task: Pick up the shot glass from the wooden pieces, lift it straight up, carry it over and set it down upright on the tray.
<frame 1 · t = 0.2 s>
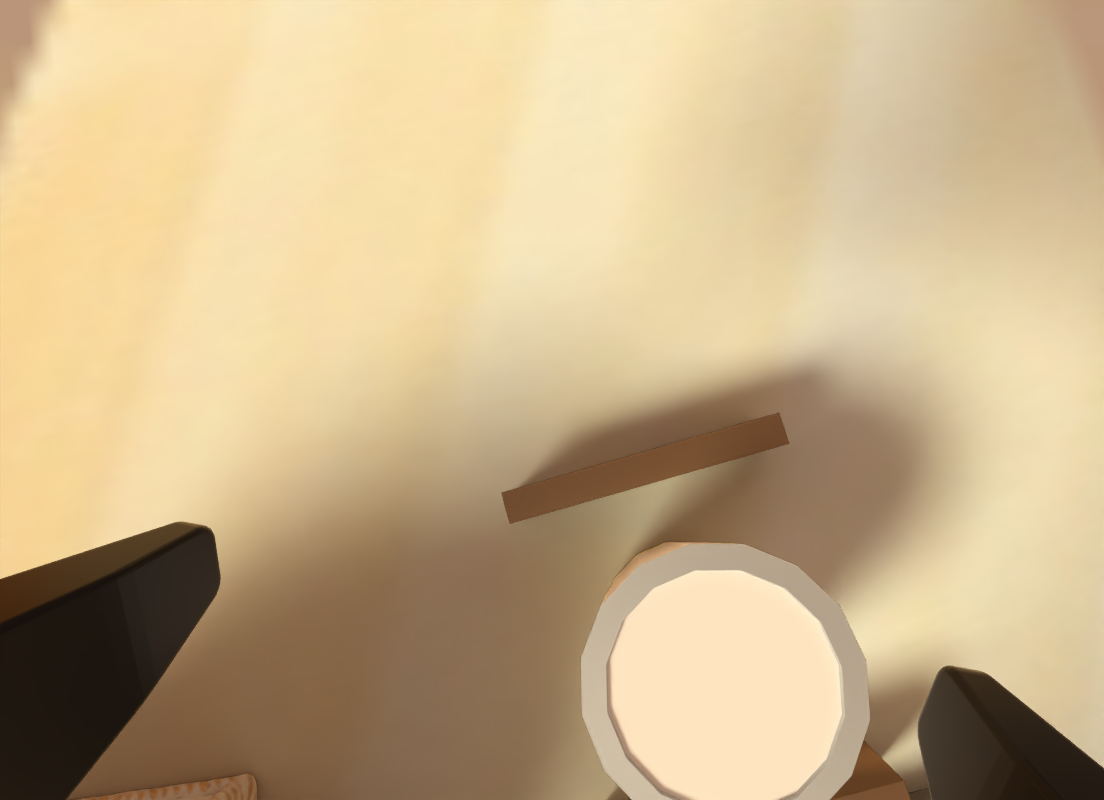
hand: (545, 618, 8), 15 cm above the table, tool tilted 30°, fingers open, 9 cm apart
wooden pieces: (684, 623, 22), on the table
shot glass: (683, 621, 22), on the table
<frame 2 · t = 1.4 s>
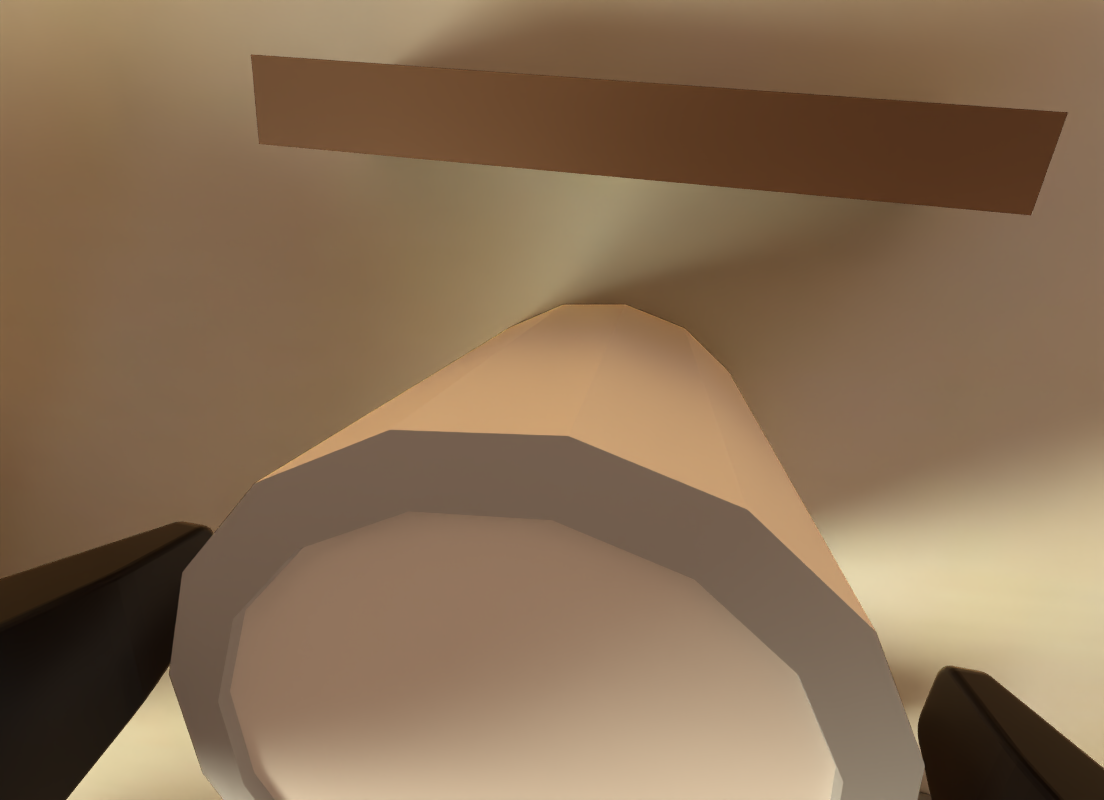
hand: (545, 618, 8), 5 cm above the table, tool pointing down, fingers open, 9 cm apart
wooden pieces: (596, 447, 12), on the table
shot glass: (598, 442, 12), on the table
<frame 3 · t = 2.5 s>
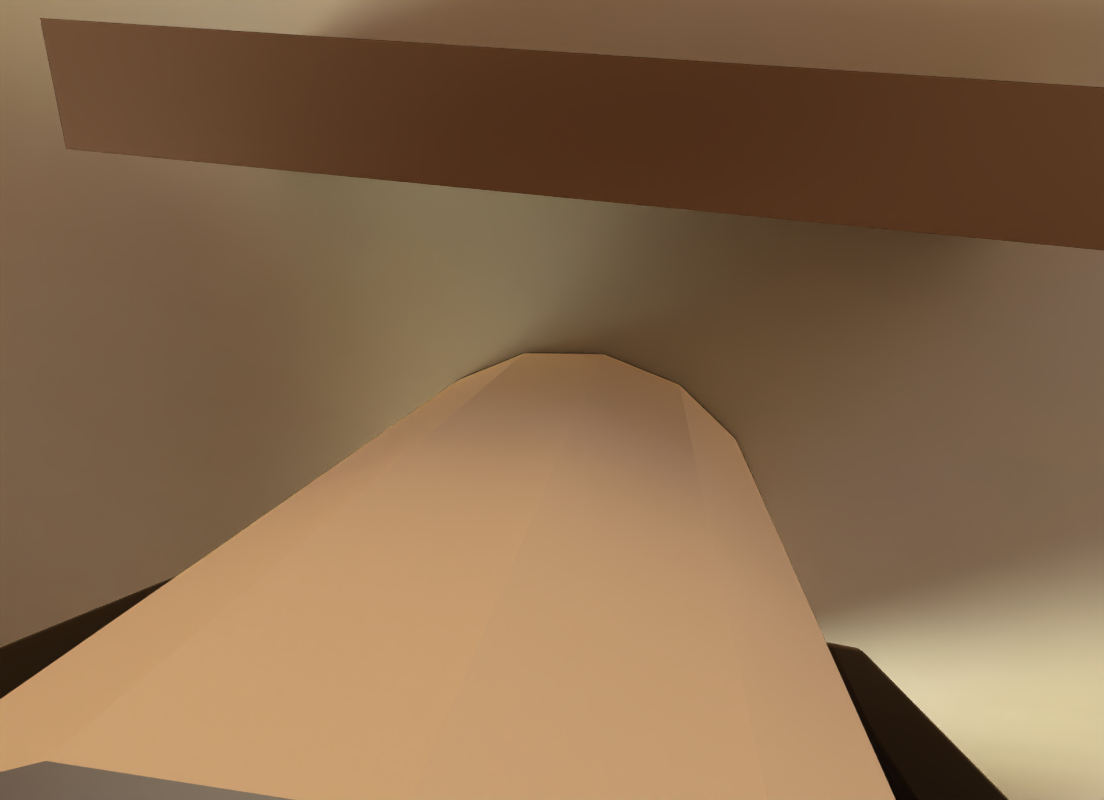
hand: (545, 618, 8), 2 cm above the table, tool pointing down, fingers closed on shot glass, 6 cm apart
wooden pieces: (570, 527, 10), on the table
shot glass: (572, 520, 10), on the table, touching gripper
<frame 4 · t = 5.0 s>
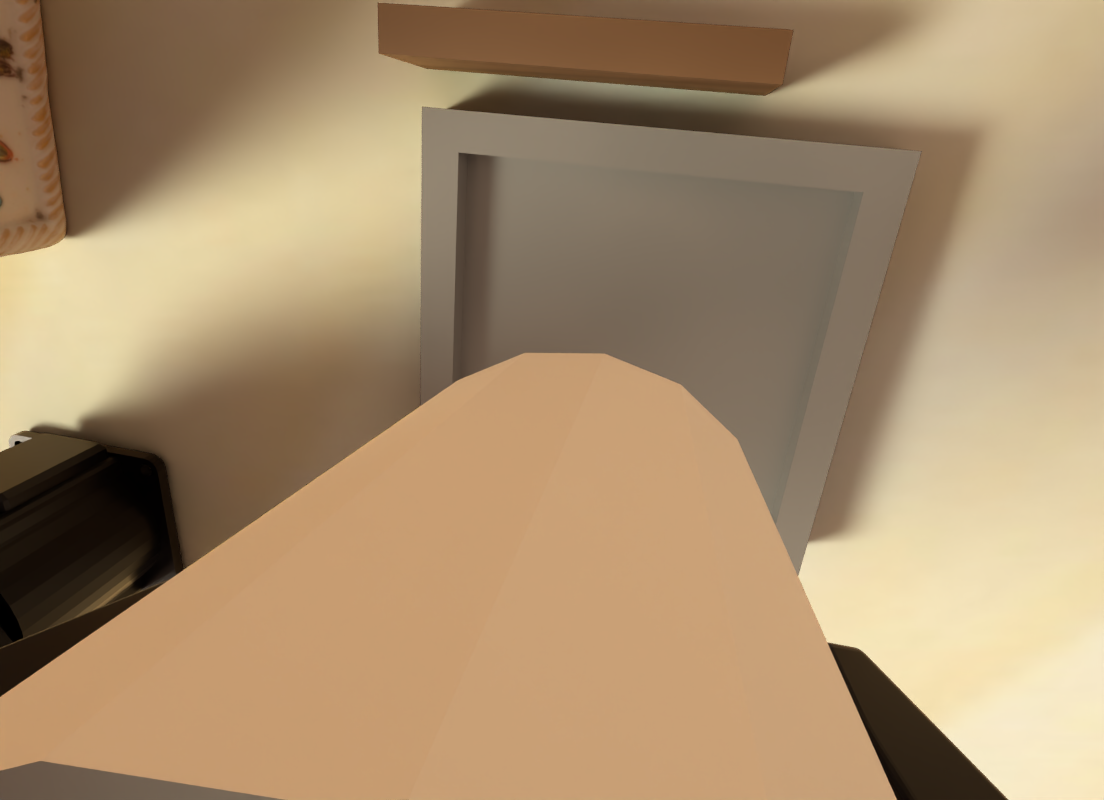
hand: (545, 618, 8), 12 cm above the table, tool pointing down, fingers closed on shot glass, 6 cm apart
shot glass: (573, 520, 10), point 10 cm above the table, touching gripper
tray: (629, 345, 19), on the table
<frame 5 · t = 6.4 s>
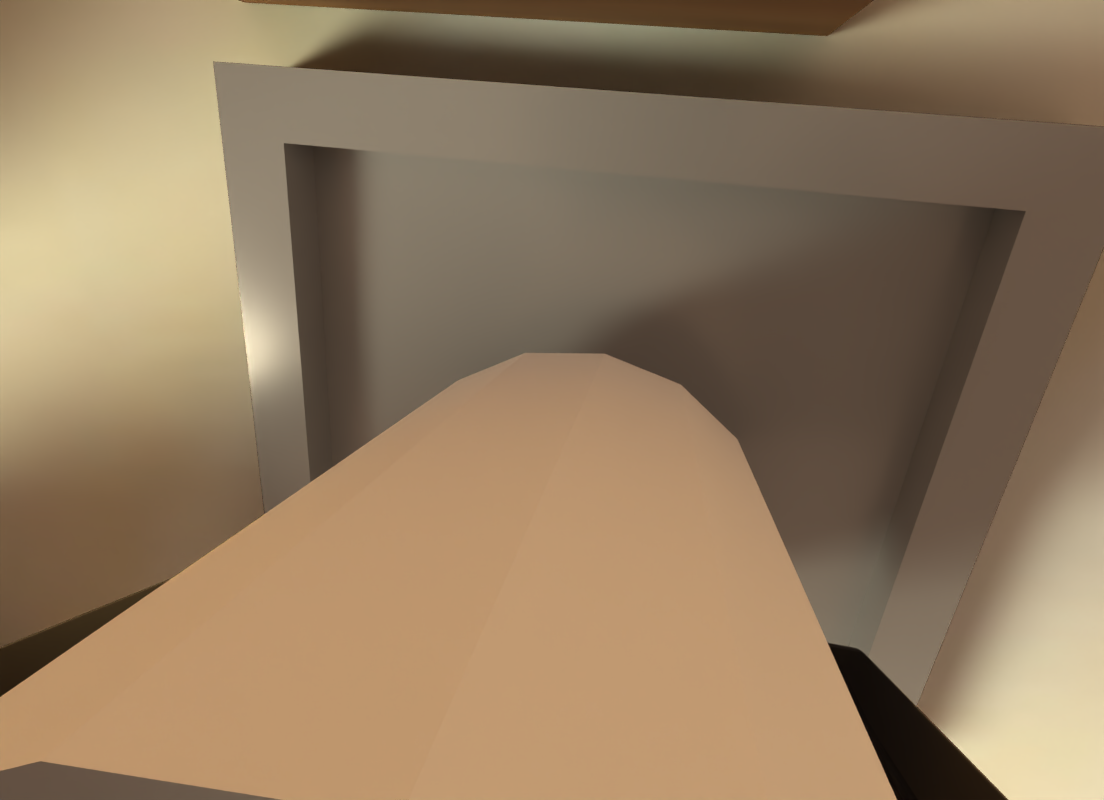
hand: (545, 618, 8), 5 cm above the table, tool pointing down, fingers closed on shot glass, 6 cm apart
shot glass: (573, 520, 10), point 2 cm above the table, touching gripper
tray: (598, 451, 12), on the table
when the fingers open (4 cm above the table, at t = 7.3 s): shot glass drops 2 cm, resting on tray.
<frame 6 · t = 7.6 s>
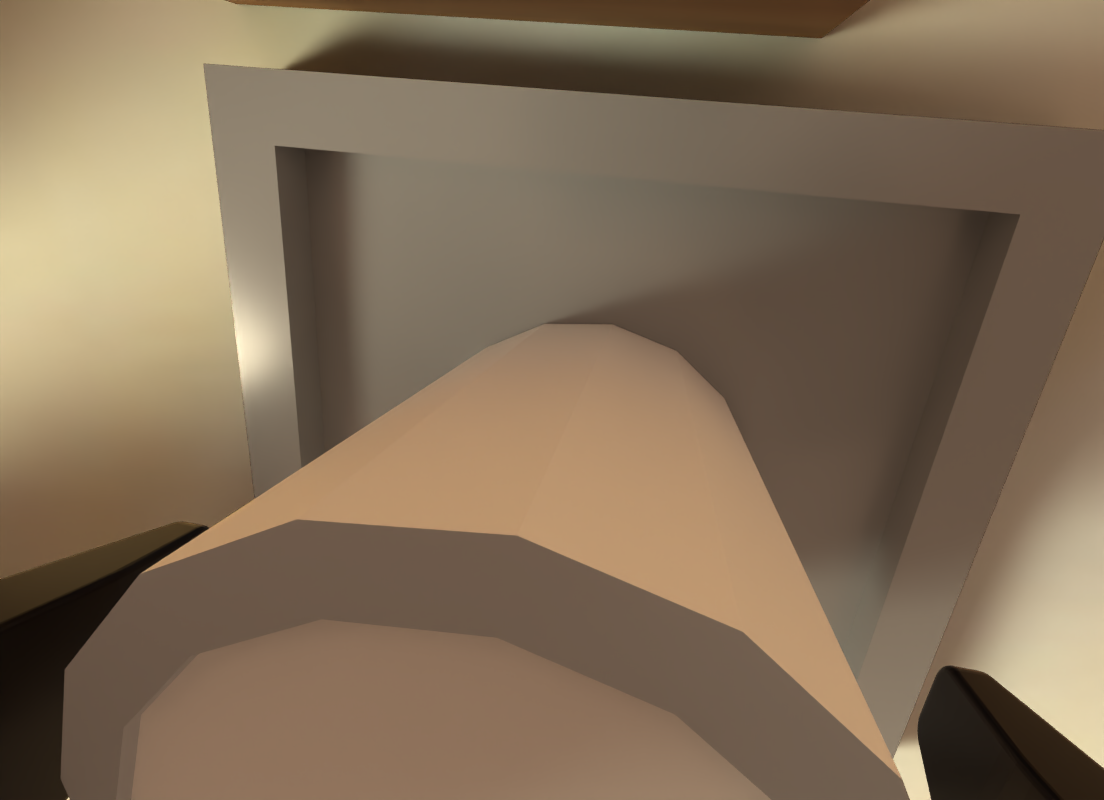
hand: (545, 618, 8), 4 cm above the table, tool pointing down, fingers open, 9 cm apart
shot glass: (583, 471, 11), point 1 cm above the table, touching tray
tray: (592, 455, 12), on the table
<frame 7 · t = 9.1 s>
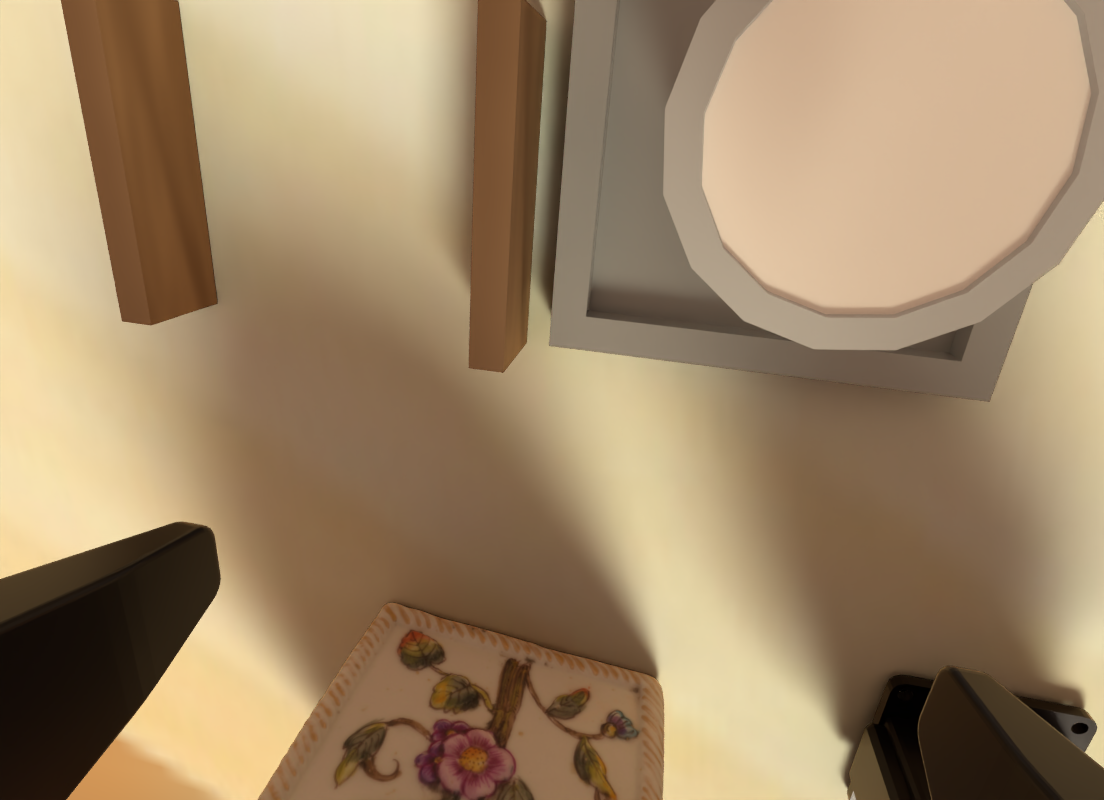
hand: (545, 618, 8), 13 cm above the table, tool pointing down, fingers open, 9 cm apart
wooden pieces: (345, 179, 19), on the table
decorative jar: (504, 728, 27), on the table
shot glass: (800, 146, 16), point 1 cm above the table, touching tray
tray: (796, 142, 17), on the table
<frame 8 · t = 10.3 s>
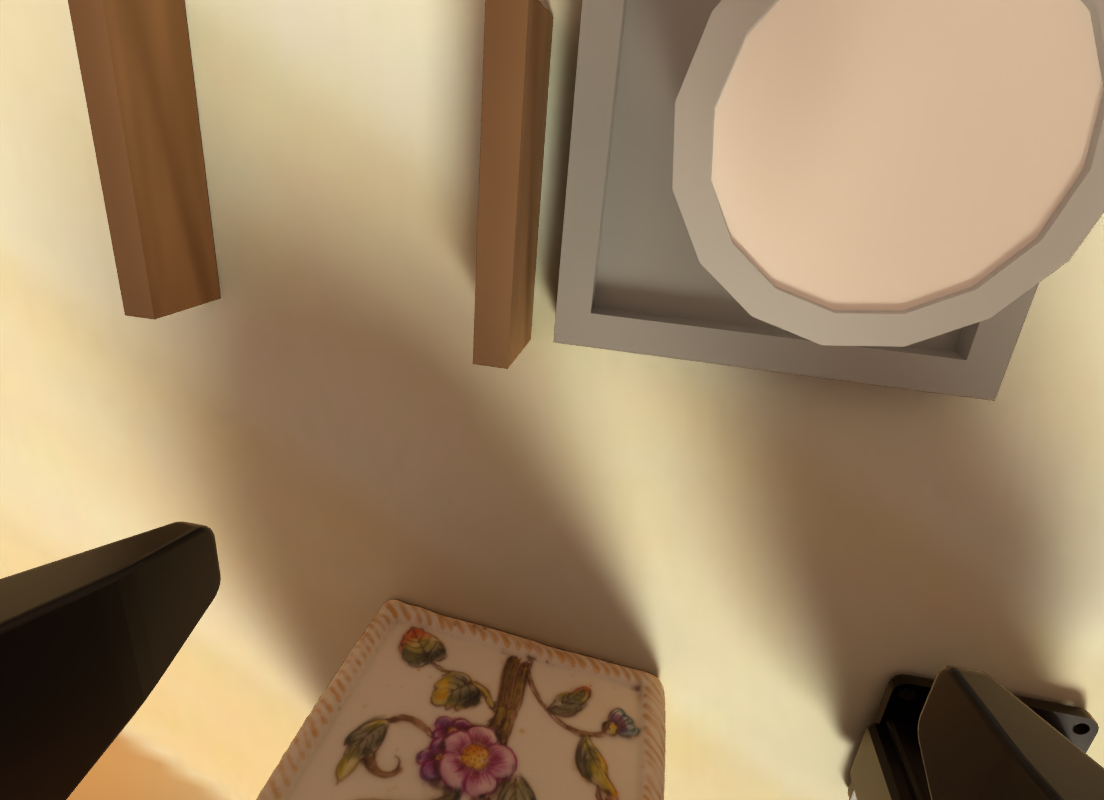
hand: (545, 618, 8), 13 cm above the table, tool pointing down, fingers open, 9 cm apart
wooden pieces: (350, 174, 19), on the table
decorative jar: (504, 726, 27), on the table
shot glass: (807, 143, 16), point 1 cm above the table, touching tray
tray: (802, 140, 17), on the table
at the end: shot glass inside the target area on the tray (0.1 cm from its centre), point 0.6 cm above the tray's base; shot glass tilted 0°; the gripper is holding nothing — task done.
